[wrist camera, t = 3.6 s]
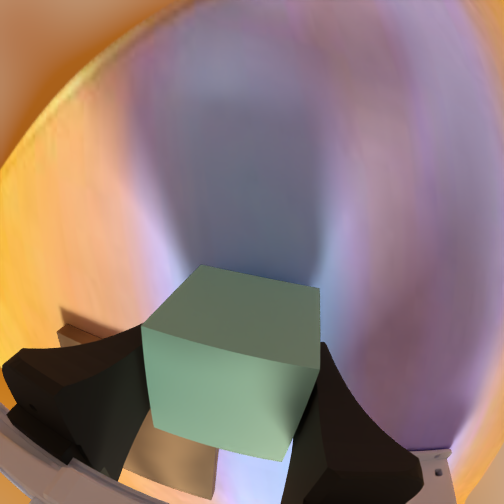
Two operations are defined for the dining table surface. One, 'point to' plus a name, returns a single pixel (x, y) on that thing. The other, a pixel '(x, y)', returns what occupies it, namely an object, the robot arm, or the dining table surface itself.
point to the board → (162, 446)
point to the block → (233, 360)
